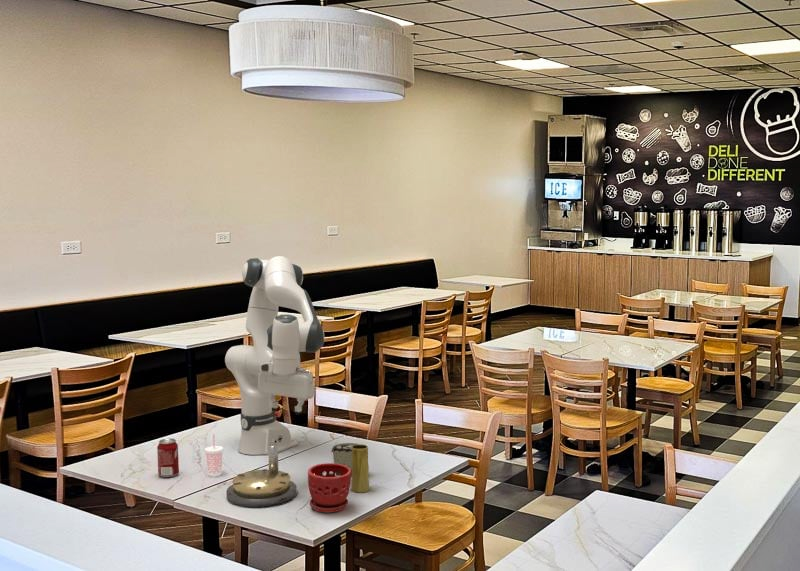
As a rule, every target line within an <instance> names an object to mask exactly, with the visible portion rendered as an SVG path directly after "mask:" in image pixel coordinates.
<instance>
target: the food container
mask: <svg viewBox="0 0 800 571" xmlns="http://www.w3.org/2000/svg"><path fill="white" fill-rule="evenodd" d="M357 444H358V443H356V442H355V443H354V442H345V443H344V442H343V443H339V444H335V445H332V447H331V452H330V453H332V454H333V455H332V457H333V463H335V464H341V465H345V466H347V467H349V468H350V469H351V478H352V446H353V445H357ZM337 475H339V476H341V474H340V472H338V471H337V472H336V473H335V476H337Z"/></svg>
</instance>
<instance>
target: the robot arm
mask: <svg viewBox="0 0 800 571" xmlns="http://www.w3.org/2000/svg"><path fill="white" fill-rule="evenodd" d="M241 273H242V274H241V276H242V281H243V282H244V284H245V285H246V286H248V287H251V288H252V291H251V292H250V293H251V294H250V297H249V303H248V308H247V313H246V314H247V315H246V320H245V329H246V331H247V333H249V334H250V336H251V337H252V338H251V339H252V340H253V342H252V343H253V345H248V344H247V345H246V344H240V345H239V344H238V345H234V346H231V347H230V348H229V349H228V350H227V351H226V354H225V357H224V363H225V366H226V368H227V369H228V370H229V371H230V372H231V374H232V375H233V376H234V378H235V381H236V382H237V385H238V389H239V392H240V402H241V412H240V425H241V434H240V439H239V440H240V441H239V444H238V445H239V446H238V449H237V451H238V452H239V453H240V454H244V455H249V456H252V455H253V456H258V455H261V456H262V455H268V456H269V450H268V446H269V445H271V444H277V445H278V453H281V452H282V451H285V450H288V449H290V448H293V447H295V446H297V445H298V442H297V440H296V439H294V438H292V437H291V431H290V429H289V428H288V427H287V426H285V425H284V424H282V422H280V421H278V420H277V419H276V417H277V418H280V417H281V416H282V413H281V412H280V411H277V410H276V411H274V410H272V409H278V408H279V401H277V400H276V398H275V397H276V396H278V397H280V396H281V397H287V398H295V399H296V401H297V402H298V403H297V405H295V406H294V413H295V412H296V413H301V412H302V410H303V406H304V403H305V401H306V400H311V399H312V398H314V397H315V394H316V392H315V391H316V390H315V383H314V374H313V373H312V372H311V371H310V369H307V368H306V369H304V368H301V354H300V353H301V352H304V353H314V354H315V353H317V352H318V351H320V349H322V348H323V346H324V344H325V332H324V329H323V327H322V325H321V323H320V320H319V318H318V316H317V313H316V311H315V308H314V304H313V302H312V299H311V297H310V295H309V293H308V292H307V290H306V289H304V288H302V287H301V286H302V284H303V280H304V274H303V269H302V267H300V266H299V265H297V264H294V263H292V261H291V260H290V259H289V258H287V257H285V256H282V255H278V256H277V255H276V256H274V257H272V258H270V259H260V258H258V257H257V258H255V257H253V258H249V259H247V260H246V262H245V263H244V265H243V267H242V271H241ZM279 307H281V308H287V309H291V310H295V311H297V312H299V313H300V314H301V316H302V319H303V321H302V322H300V321H299V318H298V317H297V316H295V315H292V314H279ZM278 314H279V315H278Z"/></svg>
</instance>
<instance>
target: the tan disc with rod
mask: <svg viewBox="0 0 800 571" xmlns="http://www.w3.org/2000/svg"><path fill="white" fill-rule="evenodd" d="M268 450H269V455H268V469H266V468H264V469H255V470H249V471H245V472H242V473H239V474H237V475H236V476H234V477H233V479H232V485H233V492H234V493H235V494H236V495H238V496H241V497H246V498H268V497H274V496H278V495H281V494H283V493H285V492H287V491H288V490H289V489H290V481H291V476H290V474H289V473H288V472H285V471H284V470H283V471H282V470H279V452H278V445H277V444H271V445H269V446H268Z"/></svg>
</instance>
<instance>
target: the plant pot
mask: <svg viewBox="0 0 800 571" xmlns="http://www.w3.org/2000/svg"><path fill="white" fill-rule="evenodd" d="M337 471H338V472H340V474H341V476H337V475H336V474H335V473H336V472H337ZM324 472H325V475H324ZM331 472H332V474H331ZM351 480H352V477H351V469H350V468H349V467H347V466H345V465H341V464H335V463H334V462H332V463H330V462H328V463H319V464H316V465H312V466H311V467H309V468H308V471H307V485H308V486H307V487H308V491H309V495H310V497H311V498H310V500H309V505H310V507H311V508H312V509H313V510H315V511H317V512H320V513H335V512H340V511H343V510H344V509H345V508H346V507H347V505H349V504H348V503H349V500H348V496H349V493H350V490H351Z"/></svg>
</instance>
